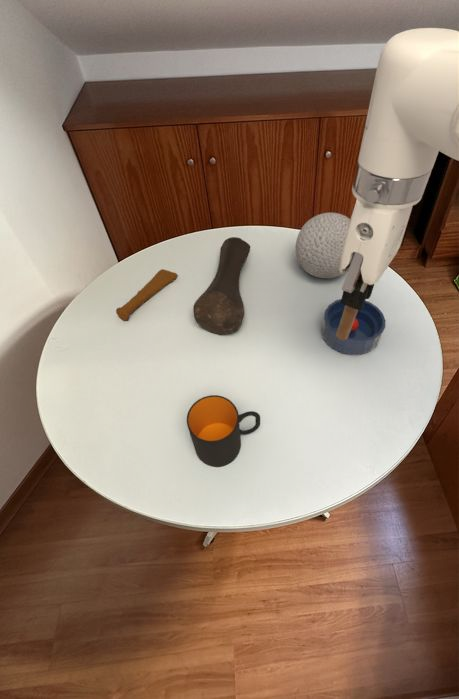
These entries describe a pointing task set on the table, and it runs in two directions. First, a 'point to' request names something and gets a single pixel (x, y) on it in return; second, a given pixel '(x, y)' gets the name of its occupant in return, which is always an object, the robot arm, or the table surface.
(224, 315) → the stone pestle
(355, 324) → the ball
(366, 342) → the bowl
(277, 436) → the table surface
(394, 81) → the robot arm
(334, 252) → the decorative ball
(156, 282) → the primitive tool
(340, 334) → the stick
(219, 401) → the mug
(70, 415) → the table surface
